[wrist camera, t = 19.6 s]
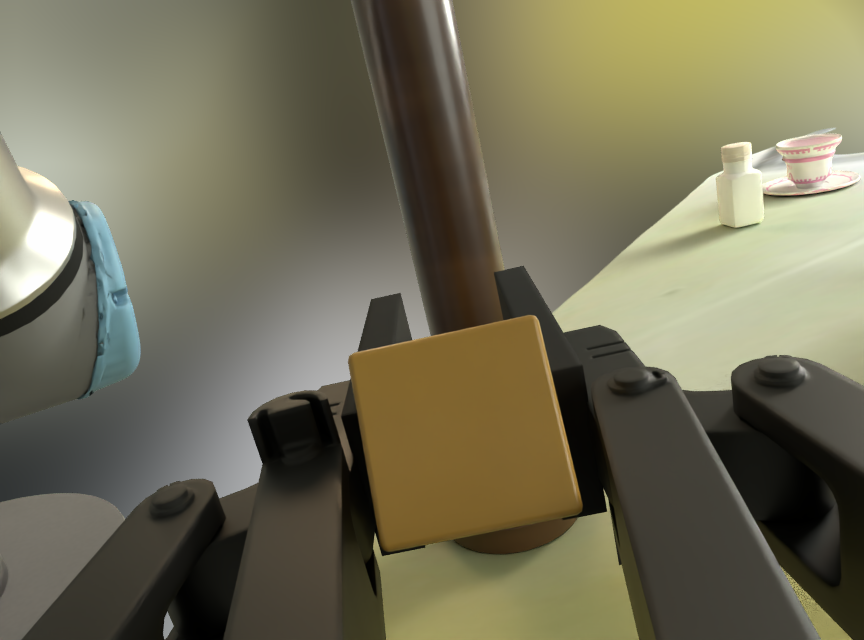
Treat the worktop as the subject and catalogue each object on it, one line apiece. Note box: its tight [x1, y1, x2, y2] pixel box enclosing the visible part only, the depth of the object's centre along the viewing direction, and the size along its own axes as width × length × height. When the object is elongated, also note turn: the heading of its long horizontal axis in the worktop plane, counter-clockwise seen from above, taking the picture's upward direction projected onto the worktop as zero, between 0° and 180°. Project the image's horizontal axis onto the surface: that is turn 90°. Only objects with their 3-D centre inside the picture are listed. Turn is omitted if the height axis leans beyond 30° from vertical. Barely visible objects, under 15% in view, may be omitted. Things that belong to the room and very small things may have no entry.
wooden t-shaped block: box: [348, 315, 583, 552], centre depth 17 cm, size 5×18×3 cm, turn 1°
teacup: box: [762, 134, 860, 195], centre depth 90 cm, size 12×12×6 cm
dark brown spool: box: [351, 0, 578, 554], centre depth 34 cm, size 10×10×30 cm
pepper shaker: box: [716, 142, 764, 228], centre depth 80 cm, size 4×4×10 cm
